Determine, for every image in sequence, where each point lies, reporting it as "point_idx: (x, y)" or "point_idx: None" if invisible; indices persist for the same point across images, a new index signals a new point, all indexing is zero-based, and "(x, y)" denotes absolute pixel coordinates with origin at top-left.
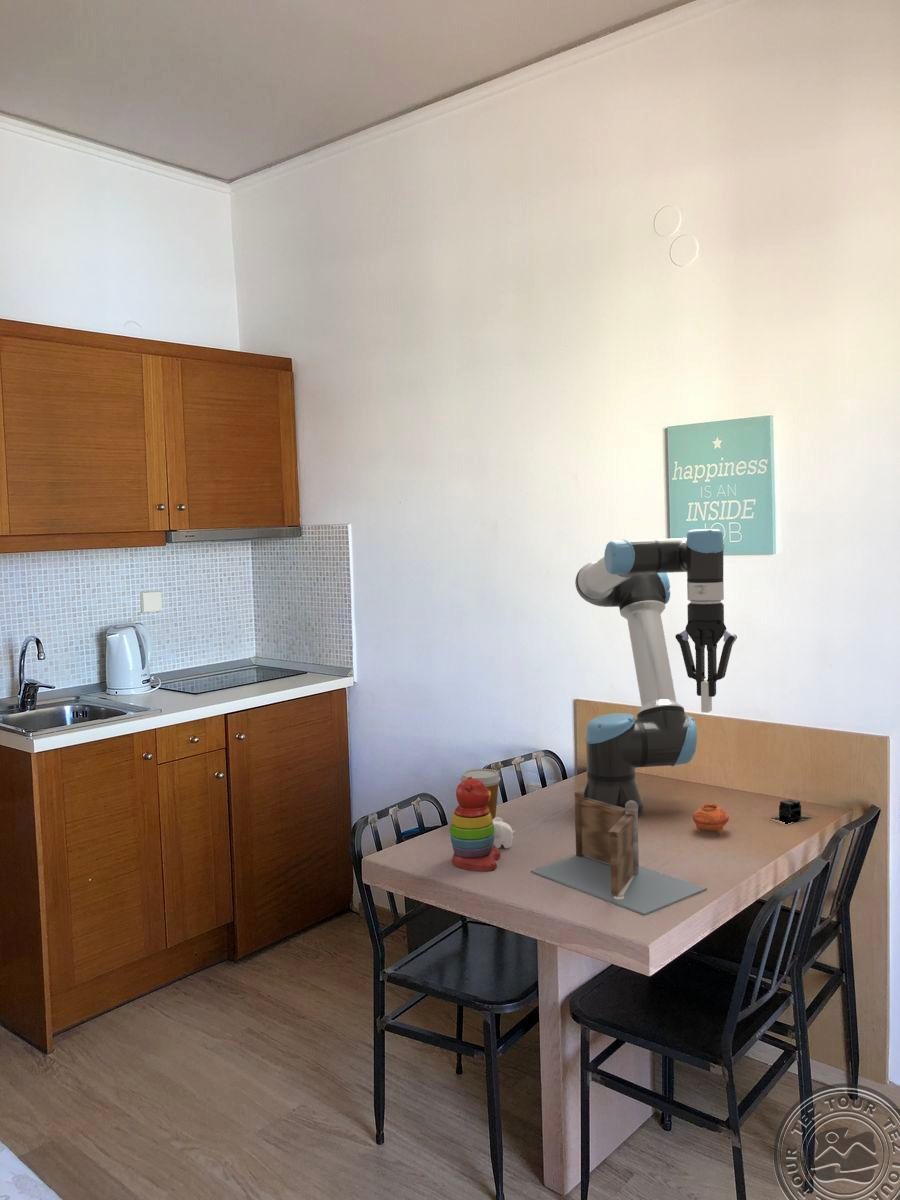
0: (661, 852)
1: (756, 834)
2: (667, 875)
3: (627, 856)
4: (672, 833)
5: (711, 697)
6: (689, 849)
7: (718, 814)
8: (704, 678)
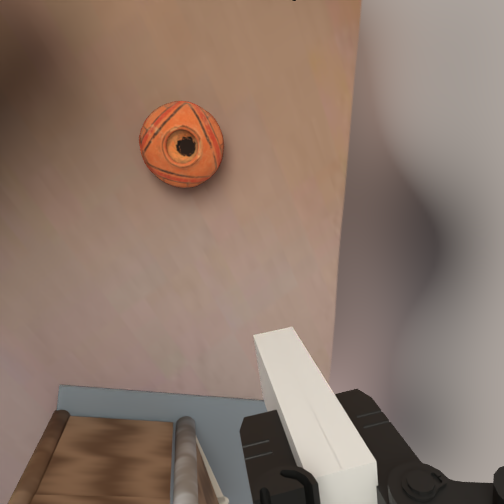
0: (166, 312)
1: (267, 106)
2: (235, 400)
3: (205, 495)
4: (121, 202)
5: (318, 372)
6: (200, 268)
7: (210, 160)
8: (311, 496)
